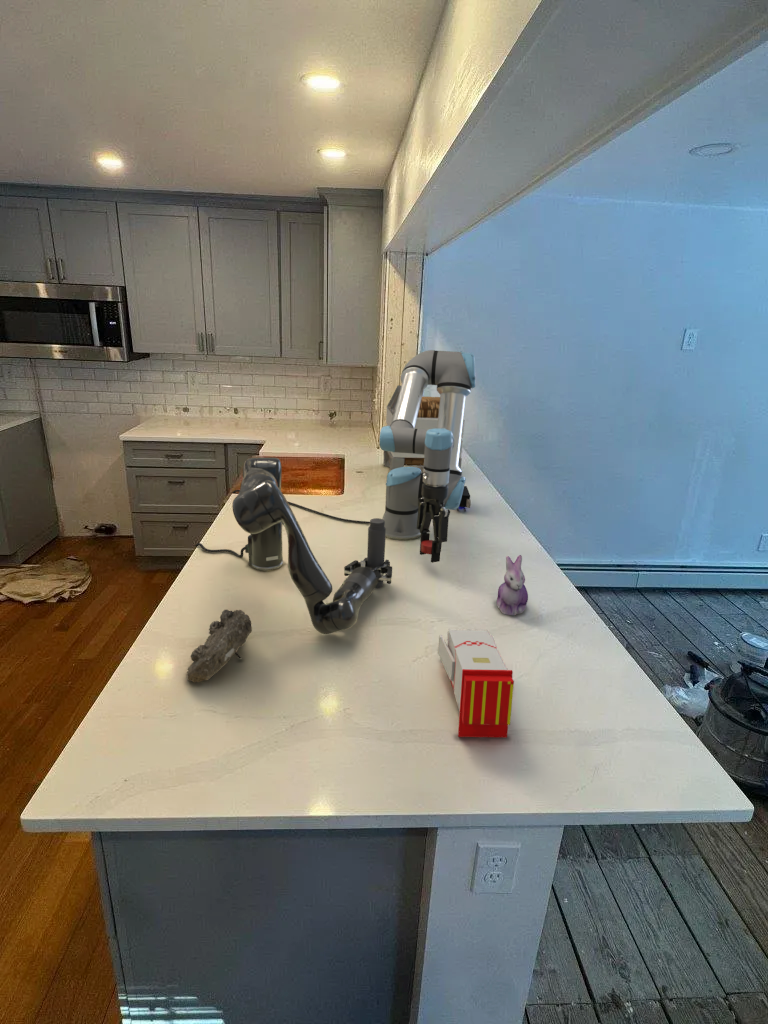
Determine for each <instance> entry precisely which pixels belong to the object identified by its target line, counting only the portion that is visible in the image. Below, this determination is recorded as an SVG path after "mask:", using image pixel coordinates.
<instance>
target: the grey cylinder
mask: <svg viewBox="0 0 768 1024" xmlns="http://www.w3.org/2000/svg"><path fill="white" fill-rule="evenodd" d="M369 522H370V524H369V526H368V528H367V531H368V532H367V554H366V555H367V556H366V558H367V567H369V568H374V567H376V566H378V565H379V566H381V565H383V563H384V562H385V558H386V557H385V554H386V537H385V536H386V528H385V527H384V525H385V521H384V520H383V518H380V517H379V518H378V517H377V518H376V517H375V518H371V519H370V521H369ZM384 575H385V574H384ZM384 575H383V576H384ZM383 586H384V581H381V582H379V583H377V585H376V587H375V589H380V588H382V587H383Z"/></svg>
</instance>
